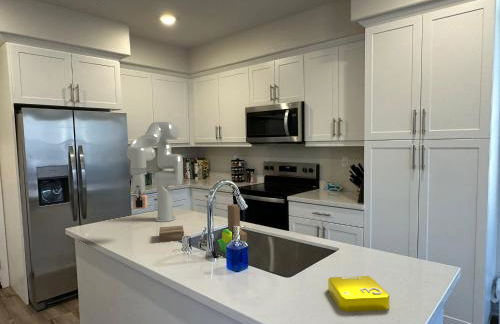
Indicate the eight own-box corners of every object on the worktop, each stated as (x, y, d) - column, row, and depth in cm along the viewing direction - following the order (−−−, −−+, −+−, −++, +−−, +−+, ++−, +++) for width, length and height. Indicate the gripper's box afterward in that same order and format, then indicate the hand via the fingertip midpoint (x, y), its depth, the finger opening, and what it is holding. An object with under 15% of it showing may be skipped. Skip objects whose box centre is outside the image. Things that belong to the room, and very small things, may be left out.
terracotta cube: (135, 206, 167) (135, 195, 167) (147, 206, 168) (147, 194, 168) (133, 209, 161) (132, 197, 161) (145, 208, 162) (145, 196, 162)
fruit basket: (246, 252, 143) (246, 227, 142) (232, 258, 136) (231, 232, 136) (229, 247, 151) (228, 223, 150) (215, 252, 144) (214, 227, 143)
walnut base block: (160, 236, 171) (159, 227, 170) (182, 234, 174) (182, 225, 173) (159, 243, 159) (159, 233, 159) (184, 241, 162) (183, 231, 162)
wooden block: (247, 241, 158) (246, 205, 157) (241, 244, 155) (240, 207, 153) (234, 238, 164) (233, 203, 163) (227, 240, 160) (227, 205, 159)
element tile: (370, 287, 108) (370, 273, 107) (392, 311, 93) (392, 295, 93) (326, 289, 107) (326, 275, 107) (341, 313, 92) (341, 297, 92)
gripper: (134, 170, 171) (136, 203, 173) (127, 173, 154) (129, 210, 156) (149, 169, 173) (150, 202, 174) (143, 172, 156) (145, 209, 157)
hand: (140, 205), depth 165 cm, fingers closed on terracotta cube, 6 cm apart
